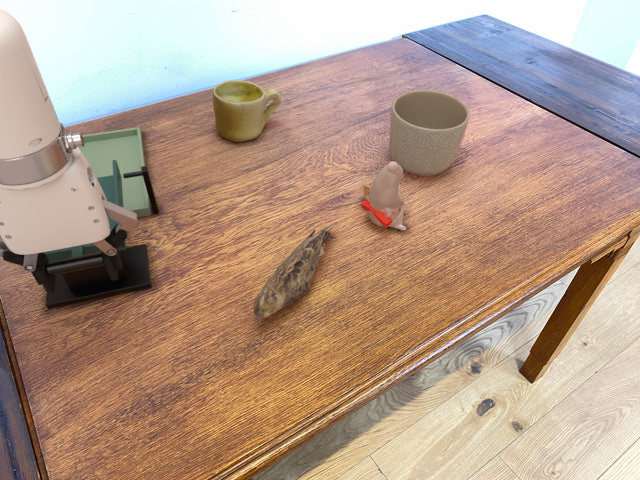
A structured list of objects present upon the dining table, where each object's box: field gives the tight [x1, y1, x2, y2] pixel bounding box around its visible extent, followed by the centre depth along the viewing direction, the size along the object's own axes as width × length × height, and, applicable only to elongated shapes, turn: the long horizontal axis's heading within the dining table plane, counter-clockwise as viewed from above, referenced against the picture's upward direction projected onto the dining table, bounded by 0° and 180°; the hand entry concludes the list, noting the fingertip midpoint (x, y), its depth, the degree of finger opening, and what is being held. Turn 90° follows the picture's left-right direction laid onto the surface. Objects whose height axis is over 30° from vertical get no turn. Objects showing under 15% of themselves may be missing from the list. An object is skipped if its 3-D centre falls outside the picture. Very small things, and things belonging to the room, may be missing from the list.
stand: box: [45, 165, 160, 310], centre depth 70 cm, size 16×17×8 cm
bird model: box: [253, 221, 338, 325], centre depth 69 cm, size 21×6×5 cm
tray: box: [78, 126, 153, 218], centre depth 84 cm, size 23×15×2 cm, turn 18°
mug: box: [212, 79, 282, 143], centre depth 93 cm, size 12×10×10 cm
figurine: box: [360, 160, 407, 231], centre depth 75 cm, size 9×7×12 cm
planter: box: [389, 89, 471, 177], centre depth 86 cm, size 12×12×11 cm
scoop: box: [43, 160, 127, 276], centre depth 65 cm, size 19×10×4 cm, turn 18°
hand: (83, 277), depth 60 cm, fingers open, 6 cm apart
